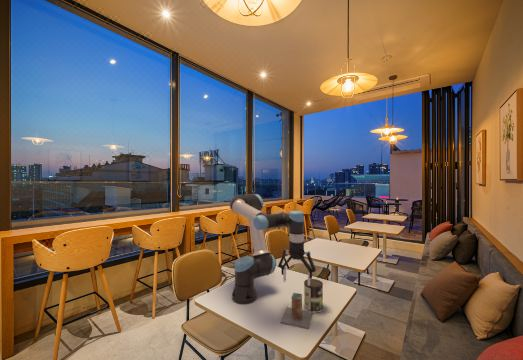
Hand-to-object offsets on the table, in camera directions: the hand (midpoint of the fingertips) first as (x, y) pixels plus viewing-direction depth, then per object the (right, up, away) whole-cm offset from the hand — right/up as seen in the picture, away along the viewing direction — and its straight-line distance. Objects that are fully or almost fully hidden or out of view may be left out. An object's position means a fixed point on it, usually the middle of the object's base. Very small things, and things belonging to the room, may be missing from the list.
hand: (296, 282), depth 119 cm
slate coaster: (0, -18, 0) cm, 18 cm away
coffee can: (+11, -18, +9) cm, 23 cm away
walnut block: (0, -17, 0) cm, 17 cm away
